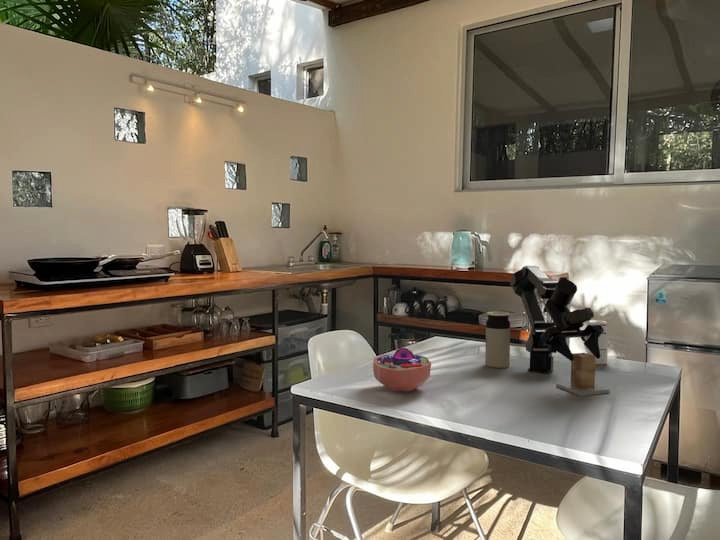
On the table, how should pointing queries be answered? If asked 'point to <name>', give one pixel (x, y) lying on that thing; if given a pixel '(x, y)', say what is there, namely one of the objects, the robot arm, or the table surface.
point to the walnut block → (583, 370)
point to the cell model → (402, 370)
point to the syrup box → (601, 342)
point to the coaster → (582, 392)
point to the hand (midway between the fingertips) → (586, 359)
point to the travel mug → (497, 340)
